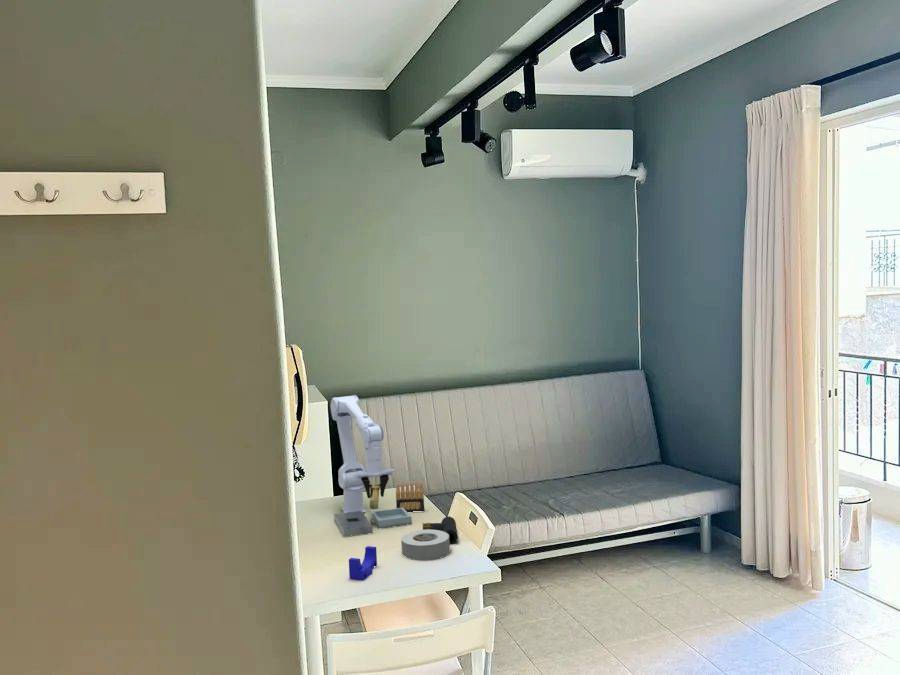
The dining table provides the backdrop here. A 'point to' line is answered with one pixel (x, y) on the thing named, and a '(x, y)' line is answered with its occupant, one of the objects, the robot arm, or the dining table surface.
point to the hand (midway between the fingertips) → (375, 496)
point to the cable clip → (363, 564)
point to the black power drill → (444, 528)
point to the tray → (391, 517)
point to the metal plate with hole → (353, 523)
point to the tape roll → (425, 544)
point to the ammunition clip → (410, 497)
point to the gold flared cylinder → (374, 495)
